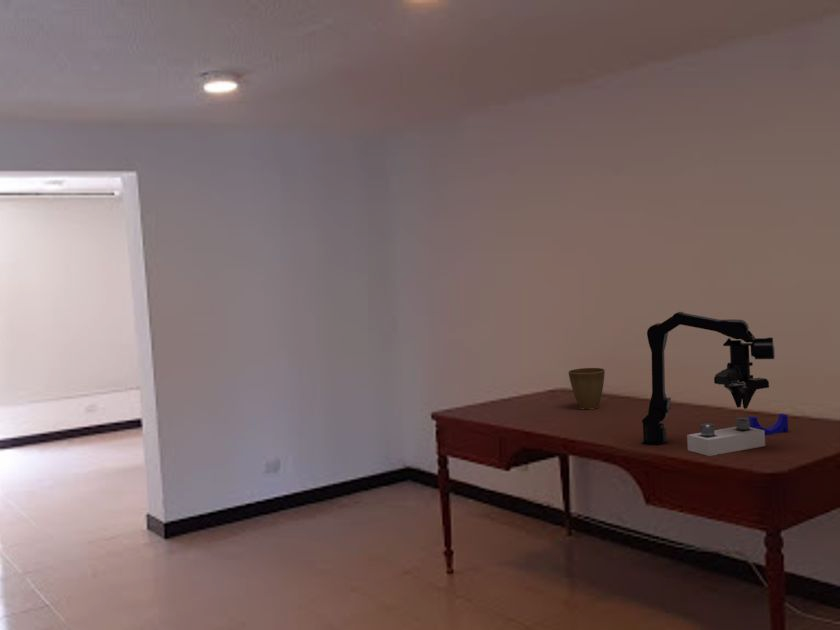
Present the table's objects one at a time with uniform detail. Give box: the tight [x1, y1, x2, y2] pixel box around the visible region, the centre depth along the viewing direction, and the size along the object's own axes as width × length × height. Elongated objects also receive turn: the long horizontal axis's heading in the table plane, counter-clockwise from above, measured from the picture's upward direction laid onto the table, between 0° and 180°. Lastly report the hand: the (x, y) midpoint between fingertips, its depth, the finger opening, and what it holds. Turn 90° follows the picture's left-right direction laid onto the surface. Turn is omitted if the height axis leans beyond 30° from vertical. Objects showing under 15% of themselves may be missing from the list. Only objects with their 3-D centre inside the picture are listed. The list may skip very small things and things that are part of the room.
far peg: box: [735, 417, 750, 432], centre depth 275 cm, size 4×4×5 cm
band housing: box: [686, 426, 766, 457], centre depth 273 cm, size 10×22×5 cm, turn 112°
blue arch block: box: [748, 413, 789, 436], centre depth 290 cm, size 12×4×6 cm, turn 93°
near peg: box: [700, 423, 715, 438], centre depth 270 cm, size 4×4×5 cm
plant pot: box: [567, 367, 606, 409], centre depth 357 cm, size 15×15×16 cm
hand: (742, 408), depth 275 cm, fingers open, 3 cm apart
